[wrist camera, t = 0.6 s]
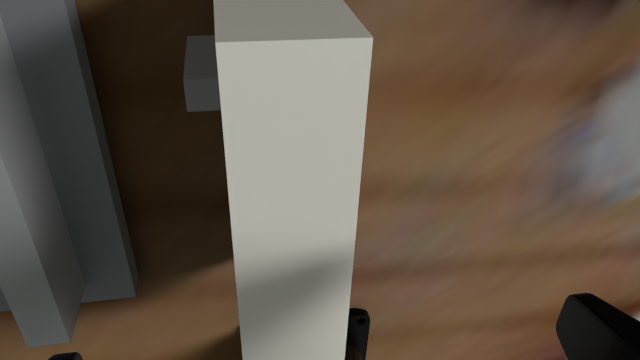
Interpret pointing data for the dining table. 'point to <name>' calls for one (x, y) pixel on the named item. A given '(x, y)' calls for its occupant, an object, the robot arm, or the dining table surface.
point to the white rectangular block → (288, 163)
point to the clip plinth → (55, 177)
